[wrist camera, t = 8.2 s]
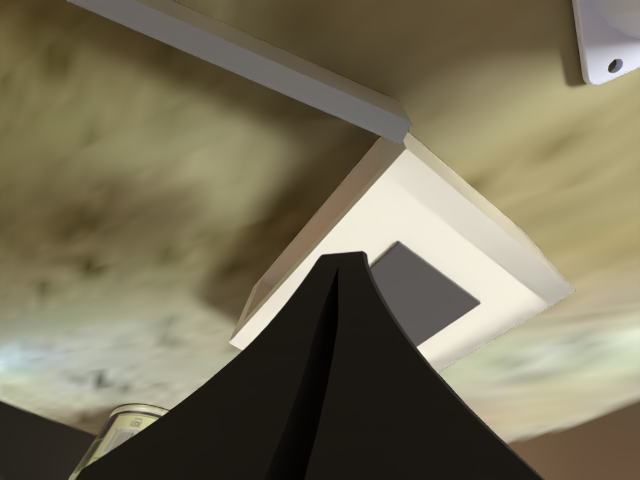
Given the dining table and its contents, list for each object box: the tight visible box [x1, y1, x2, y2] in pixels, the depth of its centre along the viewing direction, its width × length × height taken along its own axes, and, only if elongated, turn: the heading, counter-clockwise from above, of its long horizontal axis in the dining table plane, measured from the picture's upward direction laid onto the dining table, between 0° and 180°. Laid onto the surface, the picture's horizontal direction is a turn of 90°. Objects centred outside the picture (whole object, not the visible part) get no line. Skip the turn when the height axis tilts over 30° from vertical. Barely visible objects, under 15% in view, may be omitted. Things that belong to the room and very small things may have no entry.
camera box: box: [229, 132, 575, 373], centre depth 18 cm, size 10×14×5 cm
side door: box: [66, 0, 412, 144], centre depth 12 cm, size 1×19×5 cm, turn 68°
